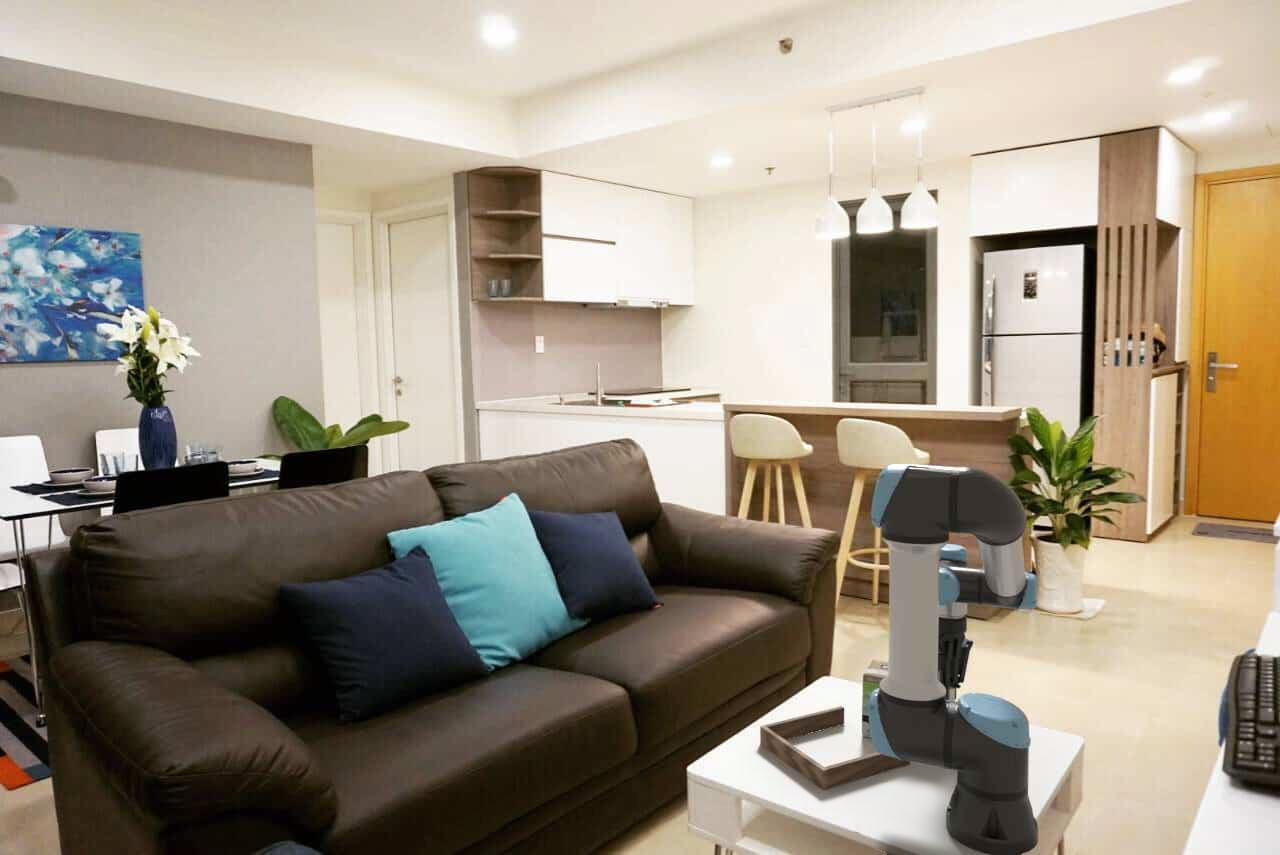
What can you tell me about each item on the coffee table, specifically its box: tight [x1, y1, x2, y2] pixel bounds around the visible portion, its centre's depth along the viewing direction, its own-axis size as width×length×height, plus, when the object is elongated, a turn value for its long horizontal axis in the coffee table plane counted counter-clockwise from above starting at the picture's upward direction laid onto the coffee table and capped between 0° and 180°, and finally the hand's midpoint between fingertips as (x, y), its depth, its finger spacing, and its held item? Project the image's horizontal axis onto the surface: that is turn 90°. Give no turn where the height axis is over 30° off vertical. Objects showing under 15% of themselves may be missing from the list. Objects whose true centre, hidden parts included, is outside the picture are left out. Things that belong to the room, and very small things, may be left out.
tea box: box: [861, 659, 940, 739], centre depth 189 cm, size 15×10×15 cm
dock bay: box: [759, 705, 911, 791], centre depth 182 cm, size 22×22×4 cm
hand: (947, 714), depth 196 cm, fingers closed
